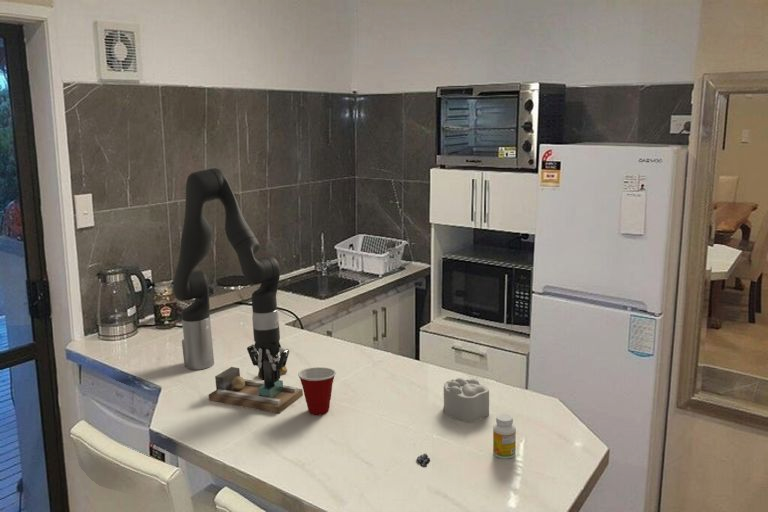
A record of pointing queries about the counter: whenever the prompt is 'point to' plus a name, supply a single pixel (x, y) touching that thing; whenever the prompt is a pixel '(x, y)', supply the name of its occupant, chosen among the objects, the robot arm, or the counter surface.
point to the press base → (251, 393)
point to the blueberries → (423, 460)
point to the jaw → (269, 382)
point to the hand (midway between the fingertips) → (270, 379)
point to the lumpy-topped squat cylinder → (466, 400)
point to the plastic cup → (317, 388)
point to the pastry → (282, 371)
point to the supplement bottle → (504, 437)
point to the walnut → (238, 383)
